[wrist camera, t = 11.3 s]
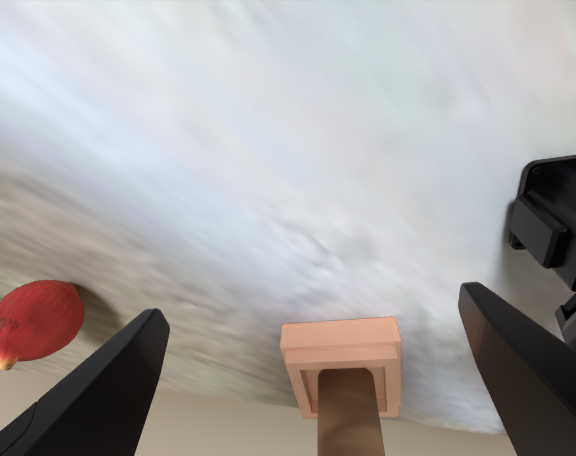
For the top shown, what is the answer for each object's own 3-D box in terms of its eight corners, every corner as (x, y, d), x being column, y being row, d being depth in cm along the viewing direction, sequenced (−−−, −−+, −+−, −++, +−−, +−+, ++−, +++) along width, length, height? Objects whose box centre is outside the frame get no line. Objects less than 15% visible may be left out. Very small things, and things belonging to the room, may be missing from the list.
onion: (30, 288, 30) (-52, 368, 23) (44, 249, 27) (-46, 327, 20) (92, 316, 31) (31, 399, 25) (111, 282, 29) (48, 365, 22)
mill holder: (395, 316, 28) (404, 354, 25) (396, 382, 34) (404, 419, 31) (282, 324, 30) (278, 360, 27) (300, 385, 35) (299, 421, 32)
